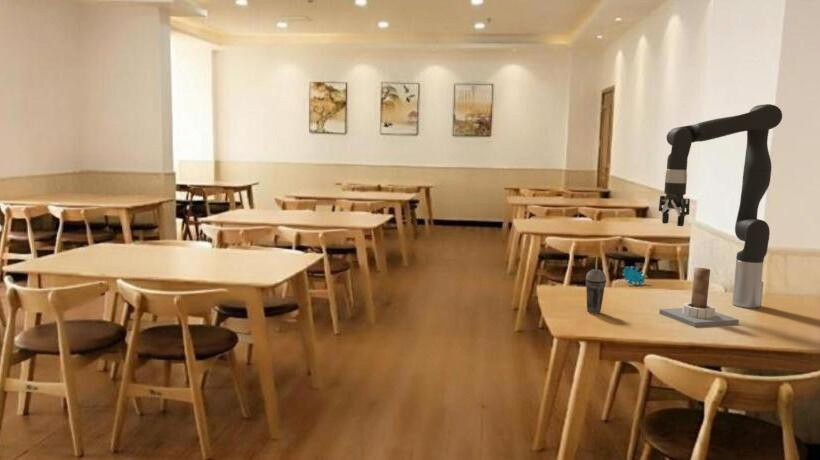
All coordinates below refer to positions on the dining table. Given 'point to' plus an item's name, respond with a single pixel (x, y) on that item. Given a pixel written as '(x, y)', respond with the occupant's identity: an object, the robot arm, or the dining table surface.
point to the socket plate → (699, 320)
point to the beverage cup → (595, 289)
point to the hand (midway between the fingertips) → (672, 224)
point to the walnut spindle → (700, 288)
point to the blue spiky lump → (634, 276)
